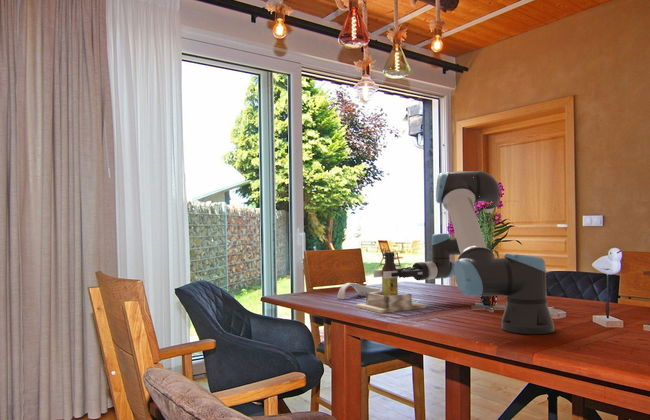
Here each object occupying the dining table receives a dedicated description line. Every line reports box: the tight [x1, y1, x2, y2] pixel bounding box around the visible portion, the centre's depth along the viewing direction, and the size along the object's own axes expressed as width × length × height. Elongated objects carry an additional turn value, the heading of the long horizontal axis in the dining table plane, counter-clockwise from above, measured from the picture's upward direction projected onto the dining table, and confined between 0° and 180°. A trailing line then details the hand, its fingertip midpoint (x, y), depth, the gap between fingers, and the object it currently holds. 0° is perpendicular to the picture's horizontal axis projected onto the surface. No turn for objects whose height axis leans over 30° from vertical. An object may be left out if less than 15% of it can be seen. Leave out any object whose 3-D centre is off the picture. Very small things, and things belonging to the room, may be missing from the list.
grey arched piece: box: [336, 282, 380, 300], centre depth 235 cm, size 24×12×7 cm, turn 131°
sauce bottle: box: [381, 251, 399, 296], centre depth 201 cm, size 7×6×20 cm
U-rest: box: [355, 290, 427, 314], centre depth 201 cm, size 22×18×6 cm
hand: (379, 274), depth 199 cm, fingers closed on sauce bottle, 6 cm apart
